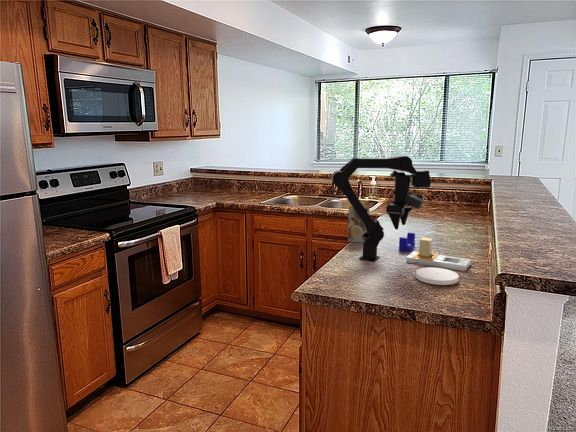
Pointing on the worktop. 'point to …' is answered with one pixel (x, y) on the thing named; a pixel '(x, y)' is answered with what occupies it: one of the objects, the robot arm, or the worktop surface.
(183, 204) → the worktop surface
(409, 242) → the blue curved block
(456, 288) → the worktop surface
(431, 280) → the plastic lid
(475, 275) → the worktop surface
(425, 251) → the beige rectangular block
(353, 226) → the coffee box
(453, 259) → the grey plate with holes
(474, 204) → the worktop surface
